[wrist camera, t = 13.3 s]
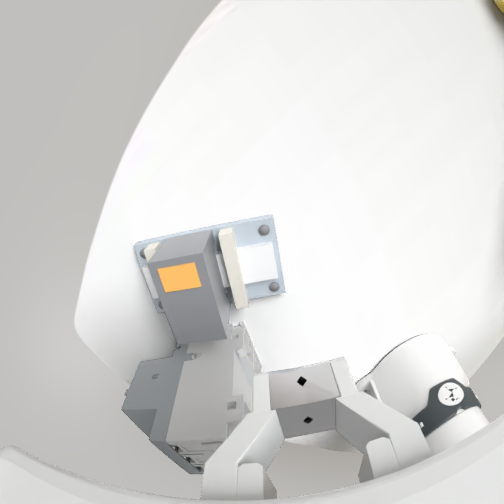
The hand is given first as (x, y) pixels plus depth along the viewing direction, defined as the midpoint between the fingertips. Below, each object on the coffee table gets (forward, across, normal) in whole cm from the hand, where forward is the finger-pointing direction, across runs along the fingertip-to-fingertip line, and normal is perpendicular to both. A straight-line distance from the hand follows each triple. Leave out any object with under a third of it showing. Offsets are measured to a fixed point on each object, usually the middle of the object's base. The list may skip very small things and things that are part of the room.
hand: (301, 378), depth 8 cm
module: (+18, +8, +3) cm, 20 cm away
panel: (+19, +7, +3) cm, 21 cm away
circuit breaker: (+20, +12, +15) cm, 27 cm away
